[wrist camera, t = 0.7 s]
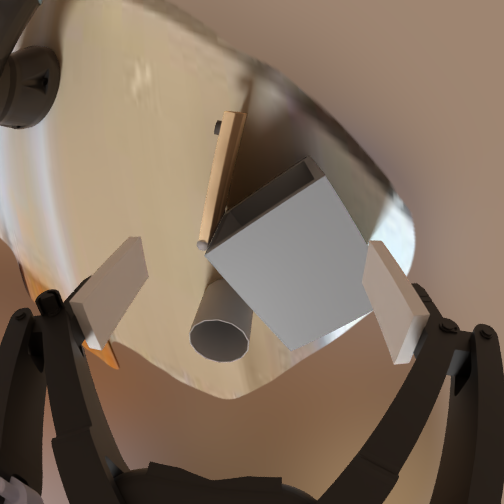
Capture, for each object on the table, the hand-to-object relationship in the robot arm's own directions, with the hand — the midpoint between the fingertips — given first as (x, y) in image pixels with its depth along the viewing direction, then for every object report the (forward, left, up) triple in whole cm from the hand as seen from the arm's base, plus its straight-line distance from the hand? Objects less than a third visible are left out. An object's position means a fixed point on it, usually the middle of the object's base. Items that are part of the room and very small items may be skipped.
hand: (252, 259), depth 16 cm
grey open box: (+9, -1, -24) cm, 26 cm away
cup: (+13, -17, -24) cm, 33 cm away
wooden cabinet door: (-4, -3, -23) cm, 24 cm away
